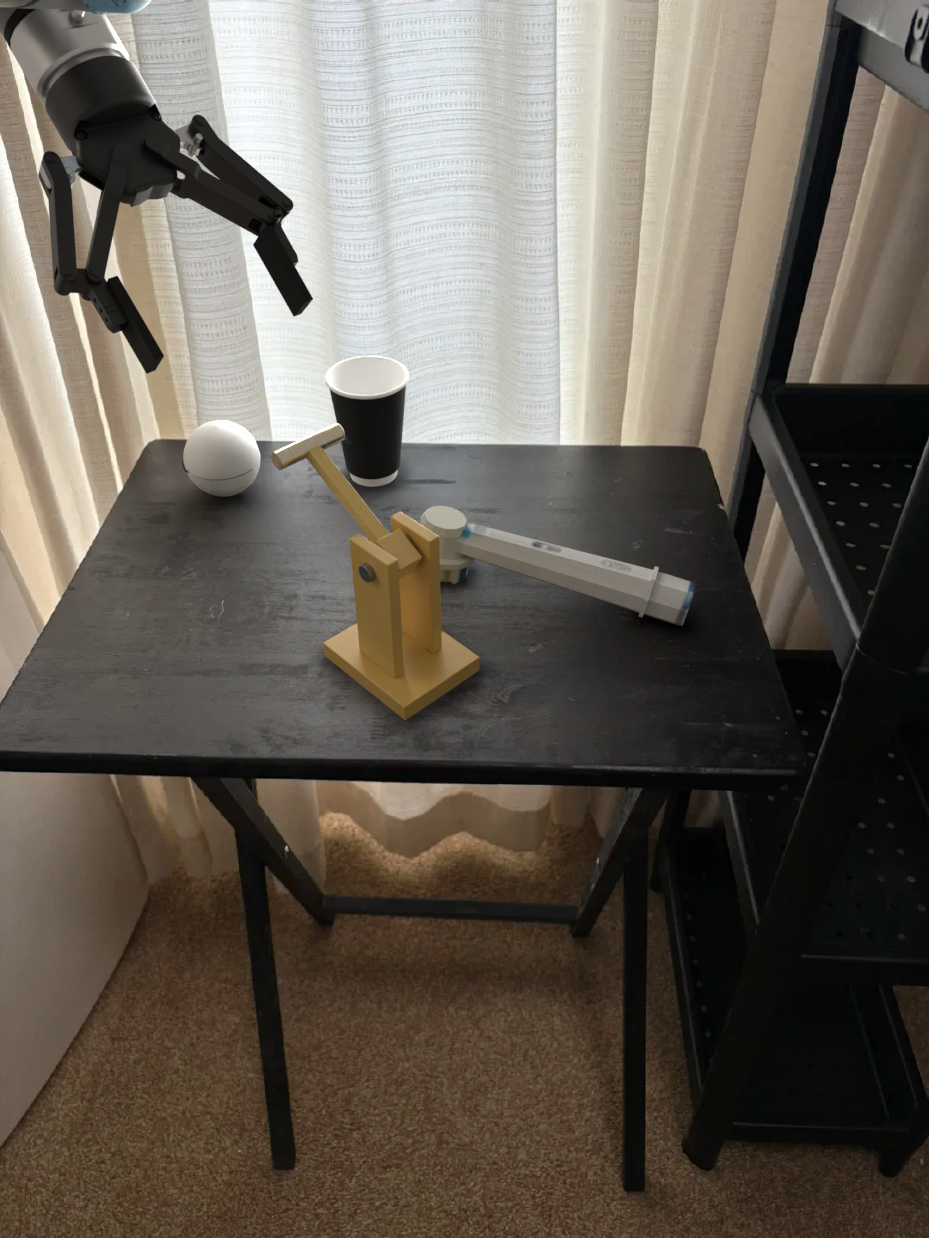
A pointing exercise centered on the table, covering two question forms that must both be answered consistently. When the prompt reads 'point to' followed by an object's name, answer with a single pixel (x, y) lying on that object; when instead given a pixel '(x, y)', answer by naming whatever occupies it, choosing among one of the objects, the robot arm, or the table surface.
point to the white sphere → (221, 458)
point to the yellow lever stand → (400, 626)
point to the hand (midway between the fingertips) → (232, 335)
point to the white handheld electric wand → (557, 566)
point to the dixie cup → (370, 415)
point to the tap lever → (347, 493)
